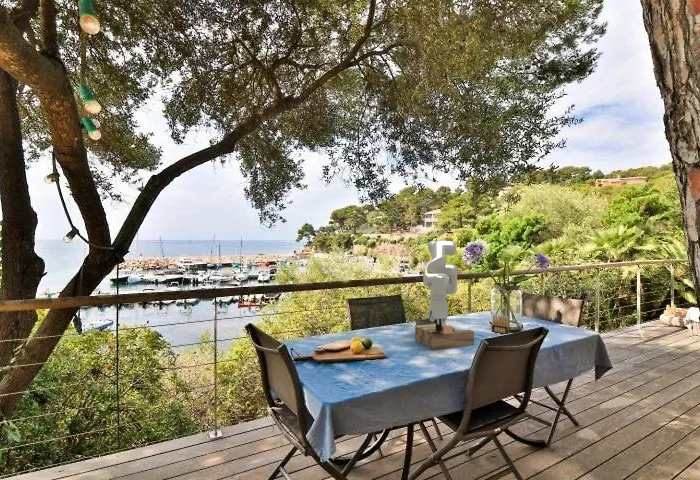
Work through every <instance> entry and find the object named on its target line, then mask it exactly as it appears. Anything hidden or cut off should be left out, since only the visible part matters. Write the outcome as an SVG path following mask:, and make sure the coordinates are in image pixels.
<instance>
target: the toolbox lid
mask: <svg viewBox="0 0 700 480" xmlns="http://www.w3.org/2000/svg"><path fill="white" fill-rule="evenodd" d="M442 325H444V324H442ZM415 327H417V328H420V329H422V330H425V331H428V332H430V333H433V332H438V331H436V324H435V323H434V322H433V321H430V317H428V318H422V319H421V318H420V319H415V325H414V328H415ZM453 330H455V327H453ZM455 331H456V330H455Z"/></svg>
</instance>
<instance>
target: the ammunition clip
mask: <svg viewBox="0 0 700 480" xmlns="http://www.w3.org/2000/svg"><path fill="white" fill-rule="evenodd" d="M509 326H510V325H509V316H508V315H504V316H503V314H501V316H500V314H497V313H496V314H495V313H493V315H492V323H491V333H492V332H495V333H494V334H497V333H500V334H499V335H502V336H504V335H503V334H508V333H509V334H510V327H509Z"/></svg>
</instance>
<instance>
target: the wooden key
mask: <svg viewBox="0 0 700 480" xmlns="http://www.w3.org/2000/svg"><path fill="white" fill-rule="evenodd" d="M453 328H454V327H453V325H451V324H446V325H442V331H441V332H440V333H441V334H451V333H453Z"/></svg>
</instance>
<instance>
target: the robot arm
mask: <svg viewBox="0 0 700 480" xmlns="http://www.w3.org/2000/svg"><path fill="white" fill-rule="evenodd" d="M427 249H428V252H429V254H430V256H431V260H429V262H428V263H427V264H426V265H425V266H424V268H423V278H422V280H423V284H424V286H426V287H429V290H430V291H429V292H430V301H429V306H428V318H430V321H433V322H434V323H435V324H436V331H438V332H441V331H442V324H444V325H447V320H448V318H449V317H448V316H449V308H448V301H447V298H448V295H453V296H454V295H455V294H457V292H458V269H457V268H458V267H457V266H456V265H455V264H454V263H453V264H452V263H451V264H450V263H447V256H455V255H456V253H457V244H456V241H454V240H430V241H428V243H427Z"/></svg>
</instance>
